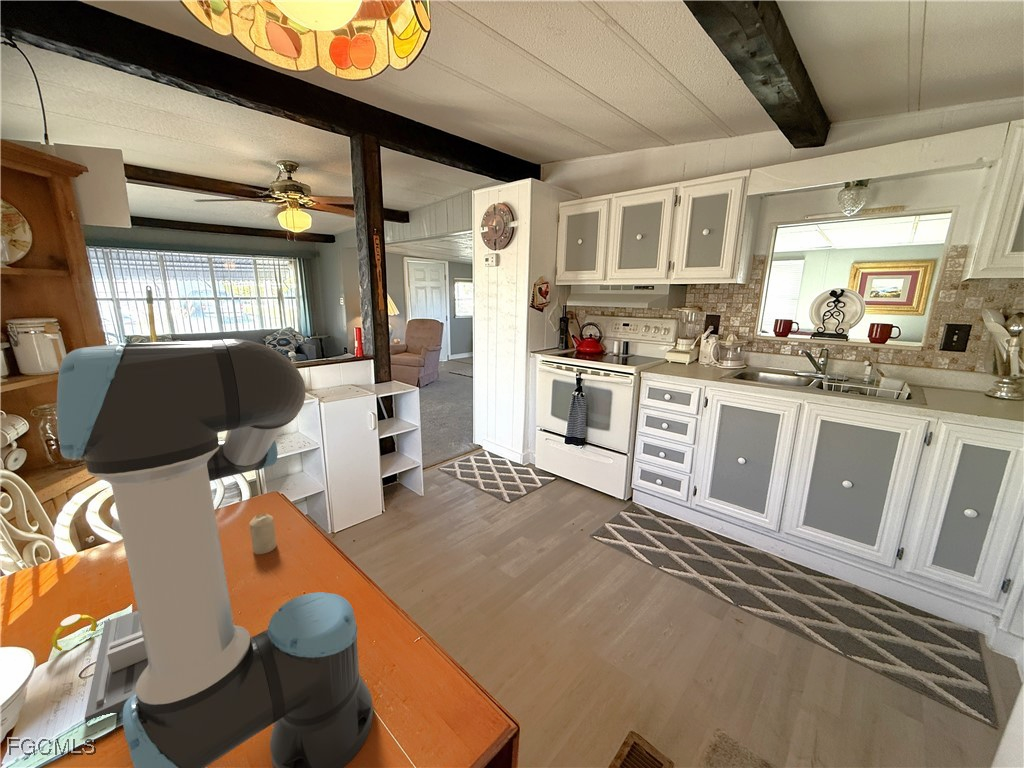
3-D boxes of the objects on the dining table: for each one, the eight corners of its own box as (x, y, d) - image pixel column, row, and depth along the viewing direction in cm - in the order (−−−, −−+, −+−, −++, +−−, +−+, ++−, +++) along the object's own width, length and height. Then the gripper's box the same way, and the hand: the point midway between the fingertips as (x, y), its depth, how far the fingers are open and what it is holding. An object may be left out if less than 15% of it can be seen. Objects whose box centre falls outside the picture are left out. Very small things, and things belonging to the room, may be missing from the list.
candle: (248, 552, 107) (243, 519, 105) (265, 540, 112) (261, 508, 110) (263, 556, 106) (259, 523, 103) (281, 544, 111) (277, 512, 108)
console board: (222, 664, 75) (220, 652, 75) (87, 727, 64) (83, 714, 63) (213, 591, 93) (212, 580, 93) (106, 630, 82) (103, 618, 81)
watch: (61, 659, 76) (50, 635, 74) (54, 653, 77) (44, 630, 75) (102, 633, 81) (93, 610, 79) (95, 628, 82) (86, 606, 80)
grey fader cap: (149, 657, 74) (145, 639, 73) (111, 672, 71) (106, 654, 70) (149, 646, 76) (145, 628, 75) (113, 660, 73) (109, 642, 72)
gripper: (190, 506, 80) (207, 604, 85) (189, 481, 89) (204, 571, 95) (140, 518, 75) (161, 621, 80) (144, 491, 85) (163, 585, 90)
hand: (184, 594), depth 88 cm, fingers closed
